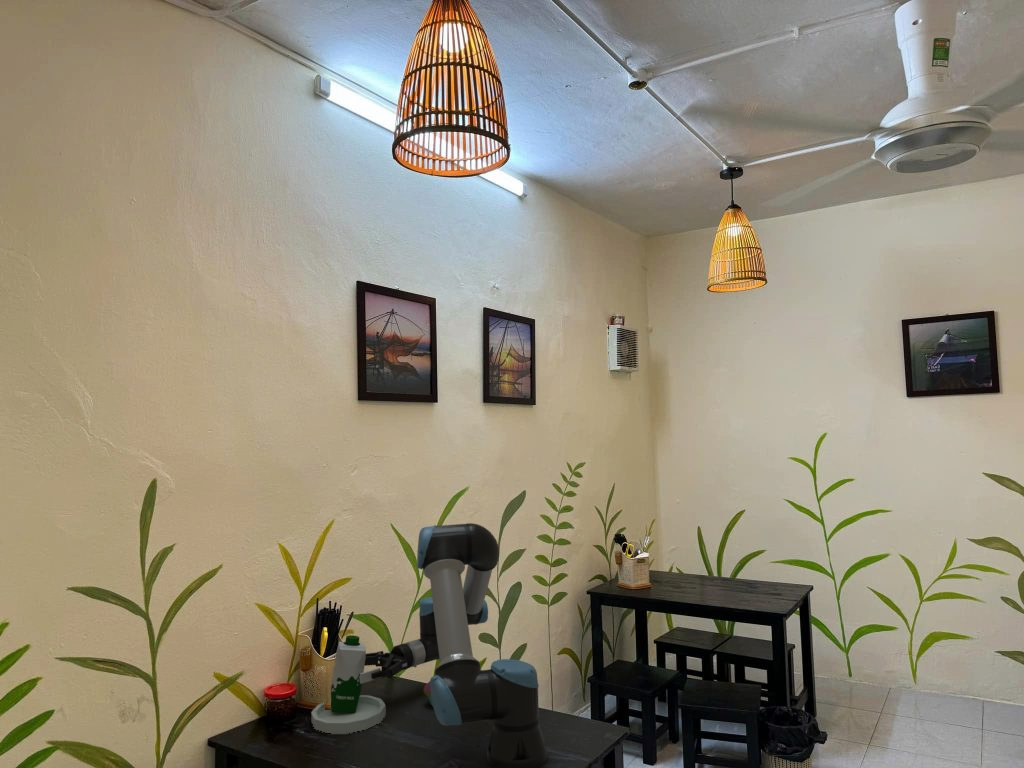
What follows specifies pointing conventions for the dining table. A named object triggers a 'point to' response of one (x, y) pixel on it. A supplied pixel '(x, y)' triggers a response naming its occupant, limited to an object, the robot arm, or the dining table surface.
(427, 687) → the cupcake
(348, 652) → the soya milk
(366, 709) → the round tray
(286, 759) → the dining table surface
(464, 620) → the robot arm
